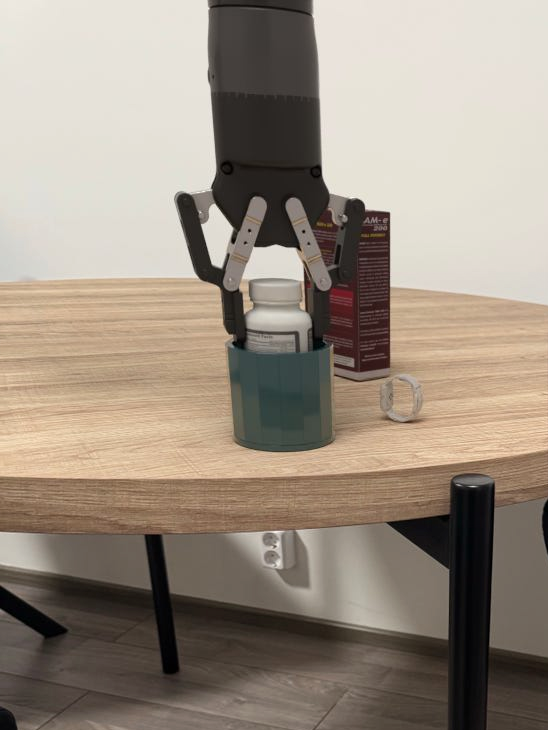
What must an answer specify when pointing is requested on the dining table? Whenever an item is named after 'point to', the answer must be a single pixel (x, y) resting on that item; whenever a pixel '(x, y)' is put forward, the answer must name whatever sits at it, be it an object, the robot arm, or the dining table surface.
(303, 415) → the cup
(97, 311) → the dining table surface
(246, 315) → the pill bottle
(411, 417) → the grey marbled ring
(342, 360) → the supplement box
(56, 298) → the dining table surface
